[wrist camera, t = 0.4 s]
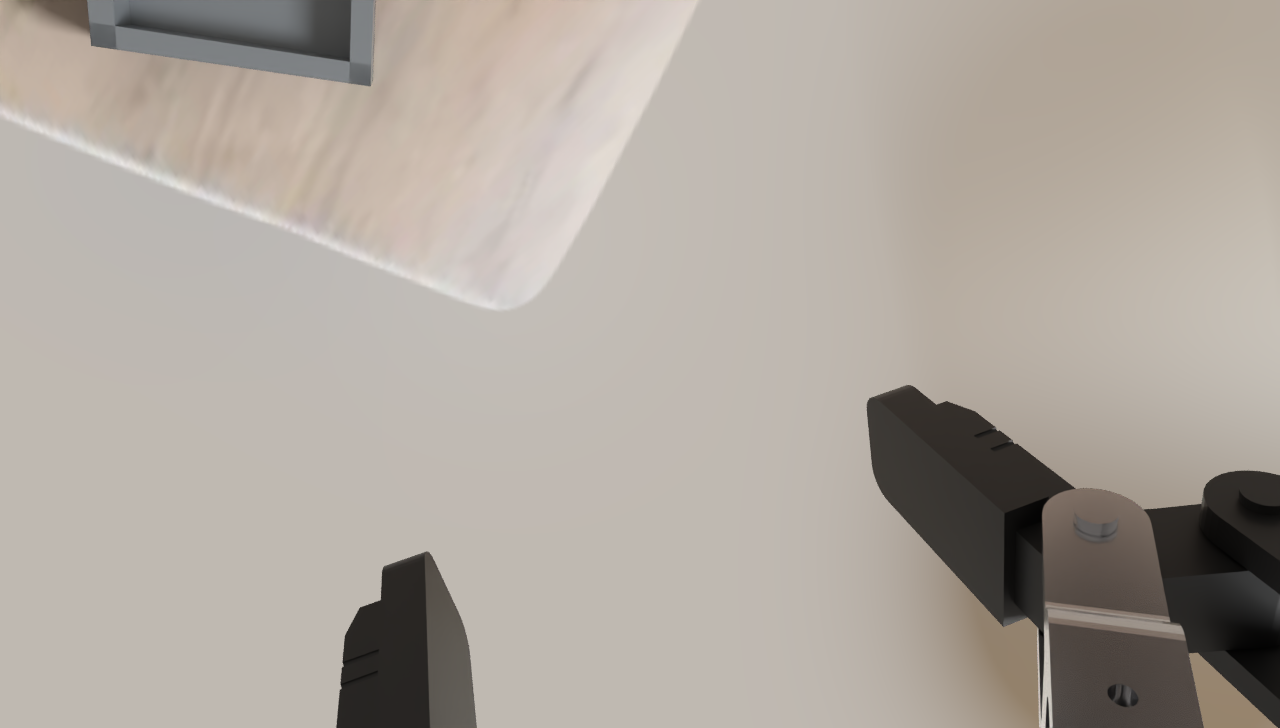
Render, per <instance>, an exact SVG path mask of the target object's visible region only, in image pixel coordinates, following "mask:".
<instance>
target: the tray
mask: <svg viewBox="0 0 1280 728" xmlns="http://www.w3.org/2000/svg"><path fill="white" fill-rule="evenodd" d="M375 3H376V0H87V4H88V15H89V26H90V38H91V46H96V47H103V48H110V49H117V50H124V51H131V52H138V53H144V54H151V55H158V56H165V57H172V58H179V59H186V60H193V61H200V62H206V63H213V64H220V65H227V66H234V67H241V68H248V69H255V70H262V71H269V72H275V73H282V74H289V75H296V76H303V77H310V78H317V79H324V80H331V81H337V82H344V83H351V84H358V85H365V86H371V84H372V81H373V59H374V31H375Z"/></svg>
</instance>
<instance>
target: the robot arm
mask: <svg viewBox="0 0 1280 728" xmlns="http://www.w3.org/2000/svg"><path fill="white" fill-rule="evenodd" d="M867 417H868V427H869V437H870V448H871V459H872V467H873V472H874V476H875V479H876V482H877V484H878V486H879V488H880V490H881V492H882V493H883V495H884V496H885V498H886V499H887V500H888V501H889V503H890V504H891V505H892V506H893V507H894V508H895V509H896V510H897V511H898V512H899V513H900V514H901V516H902V517H903V518H904V519H905V520H906V521H907V522H908V523H909V524H910V525H911V527H912V528H913V529H914V530H915V531H916V532H917V533H918V534H919V535H920V536H921V537H922V538H923V540H924V541H925V542H926V543H927V544H928V545H929V546H930V547H931V548H932V549H933V550H934V552H935V553H936V554H937V555H938V556H939V557H940V558H941V559H942V560H943V561H944V562H945V564H946V565H947V566H948V567H949V568H950V569H951V570H952V571H953V572H954V573H955V574H956V576H957V577H958V578H959V579H960V580H961V581H962V582H963V583H964V584H965V585H966V586H967V588H968V589H969V590H970V591H971V592H972V593H973V594H974V595H975V596H976V597H977V599H978V600H979V601H980V602H981V603H982V604H983V605H984V606H985V607H986V608H987V609H988V611H990V613H991V614H992V615H993V616H994V617H995V618H996V619H997V620H998V621H999V622H1000V624H1002V626H1003V627H1004V626H1007V625H1009V624H1012V623H1014V622H1017V621H1020V620H1022V619H1025V618H1027V617H1028V618H1029V619H1030V620H1031V621H1032V622H1033V623H1034V624H1035V625H1036V626H1037V627H1038V636H1037V649H1038V686H1039V688H1038V691H1039V728H1204V726H1203V722H1202V717H1201V712H1200V707H1199V702H1198V697H1197V692H1196V687H1195V682H1194V678H1193V673H1192V668H1191V663H1190V658H1189V653H1199V654H1200V655H1201V656H1202V657H1203V658H1204V659H1205V660H1206V661H1207V662H1209V664H1210V665H1211V666H1213V667H1214V668H1215V669H1216V670H1217V671H1218V672H1219V673H1220V674H1221V675H1222V676H1223V677H1224V678H1225V679H1226V680H1227V681H1229V682H1230V683H1231V684H1232V685H1233V686H1234V687H1235V688H1236V689H1237V690H1238V691H1239V692H1240V693H1241V694H1242V695H1243V696H1245V697H1246V698H1247V699H1248V700H1249V701H1250V702H1251V703H1252V704H1253V705H1254V706H1255V707H1256V708H1258V710H1259V711H1261V712H1262V713H1263V714H1264V715H1265V716H1266V717H1267V718H1268V719H1269V720H1270V721H1271V722H1272V723H1273V724H1274V725H1276V726H1277V727H1278V728H1280V475H1276V474H1271V473H1266V472H1260V471H1235V472H1228V473H1224V474H1221V475H1219V476H1217V477H1214V478H1213V479H1211V480H1210V481H1209V482H1208V483H1207V484H1206V486H1205V488H1204V492H1203V498H1202V504H1197V505H1187V506H1178V507H1168V508H1158V509H1145V510H1143V509H1142V508H1141V507H1140V506H1139V505H1138V504H1136V503H1135V502H1133V501H1132V500H1130V499H1128V498H1126V497H1124V496H1122V495H1120V494H1117V493H1113V492H1110V491H1106V490H1101V489H1092V488H1090V489H1089V488H1080V489H1075V488H1074V487H1073V486H1071V485H1070V484H1069V483H1068V482H1066V481H1065V480H1064V479H1062V478H1061V477H1060V476H1058V475H1057V474H1056V473H1054V472H1053V471H1052V470H1051V469H1049V468H1048V467H1047V466H1045V465H1044V464H1043V463H1041V462H1040V461H1039V460H1037V459H1036V458H1035V457H1034V456H1032V455H1031V454H1030V453H1028V452H1027V451H1026V450H1024V449H1023V448H1022V447H1021V446H1019V445H1018V444H1014V443H1013V440H1011V439H1010V438H1009V437H1007V436H1006V435H1005V434H1004V433H1002V432H1001V431H997V430H996V427H995V426H993V425H992V424H991V423H989V422H988V421H987V420H985V419H984V418H983V417H981V416H980V415H979V414H978V413H976V412H975V411H972V410H969V409H967V408H963V407H961V406H958V405H955V404H953V403H950V402H947V401H946V402H943V403H940V404H937V405H936V404H935V403H933V402H932V401H931V400H930V399H928V398H927V397H926V396H925V395H923V394H922V393H921V392H920V391H919V390H917V389H916V388H915V387H913V386H911V385H906V386H903V387H900V388H898V389H895V390H892V391H889V392H886V393H883V394H880V395H878V396H875V397H872V398H870V399H869V400H868V402H867ZM343 665H344V667H342V673H341V687H342V689H341V690H340V695H339V705H338V718H337V728H477V726H476V715H475V704H474V694H473V683H472V672H471V661H470V651H469V645H468V640H467V636H466V633H465V629H464V625H463V623H462V620H461V617H460V615H459V613H458V610H457V608H456V606H455V604H454V602H453V600H452V598H451V596H450V593H449V591H448V589H447V587H446V585H445V583H444V580H443V579H442V576H441V574H440V572H439V570H438V568H437V566H436V564H435V561H434V560H433V557H432V556H431V554H430V553H429V552H424V553H421V554H418V555H415V556H412V557H410V558H407V559H404V560H401V561H398V562H395V563H392V564H390V565H387V566H384V567H383V570H382V587H381V600H380V601H378V602H374V603H372V604H369V605H366V606H363V607H360V608H359V611H358V612H357V614H356V616H355V618H354V620H353V622H352V623H351V625H350V627H349V629H348V631H347V633H346V635H345V641H344V652H343Z"/></svg>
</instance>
